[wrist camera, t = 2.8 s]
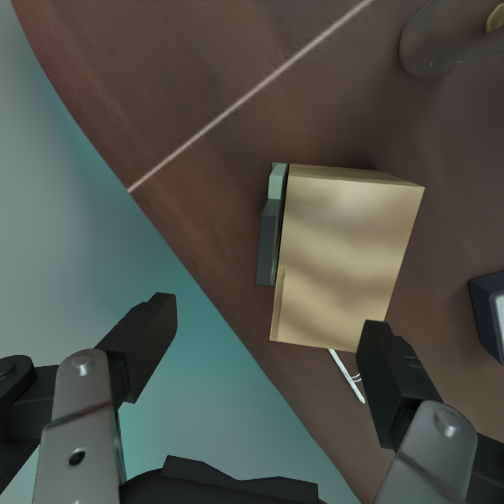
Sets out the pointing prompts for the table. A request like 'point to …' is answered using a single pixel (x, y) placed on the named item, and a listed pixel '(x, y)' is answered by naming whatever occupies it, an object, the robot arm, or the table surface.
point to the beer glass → (451, 35)
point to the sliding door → (270, 226)
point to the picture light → (347, 375)
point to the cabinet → (338, 252)
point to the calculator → (490, 312)
